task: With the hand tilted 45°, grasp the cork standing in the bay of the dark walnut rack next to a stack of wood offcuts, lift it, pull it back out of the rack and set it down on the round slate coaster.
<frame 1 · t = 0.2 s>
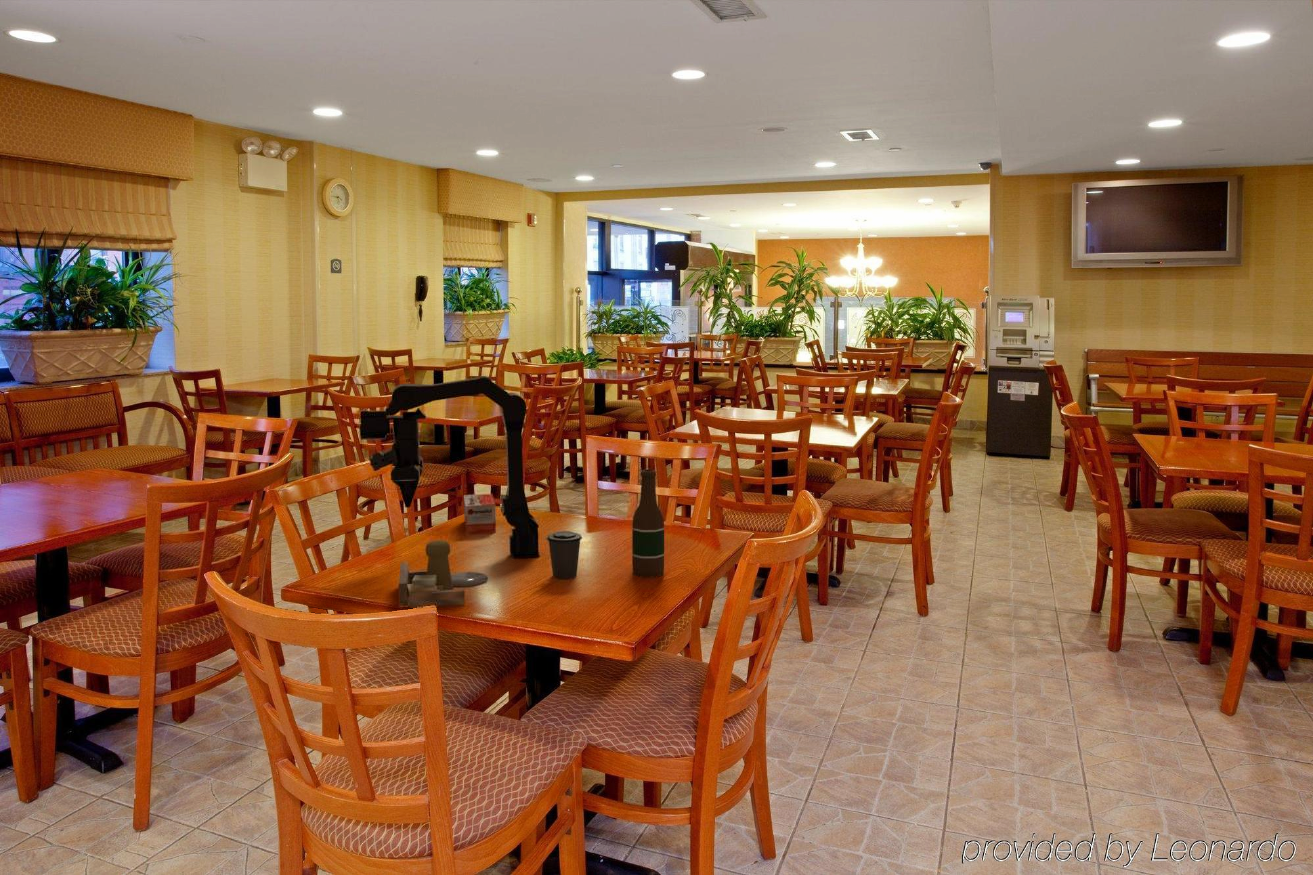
hand: (409, 503, 227), 14 cm above the table, tool pointing down, fingers open, 9 cm apart
coffee cup: (564, 576, 218), on the table
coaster: (465, 580, 214), on the table
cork: (439, 592, 206), on the table
beer bottle: (648, 573, 221), on the table
medicine box: (480, 528, 264), on the table
rack: (434, 593, 205), on the table
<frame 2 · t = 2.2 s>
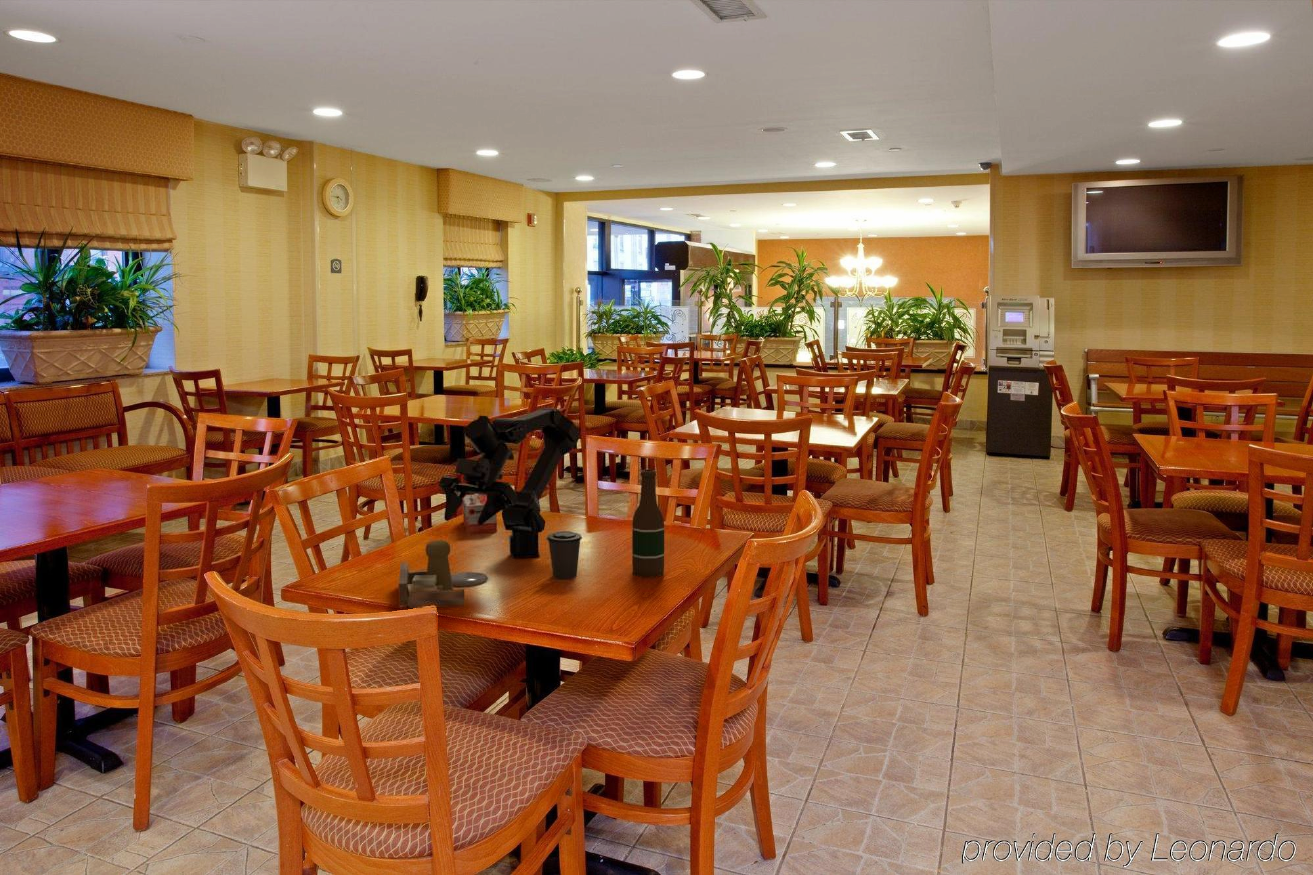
hand: (462, 522, 212), 13 cm above the table, tool tilted 45°, fingers open, 9 cm apart
nothing on the table moved.
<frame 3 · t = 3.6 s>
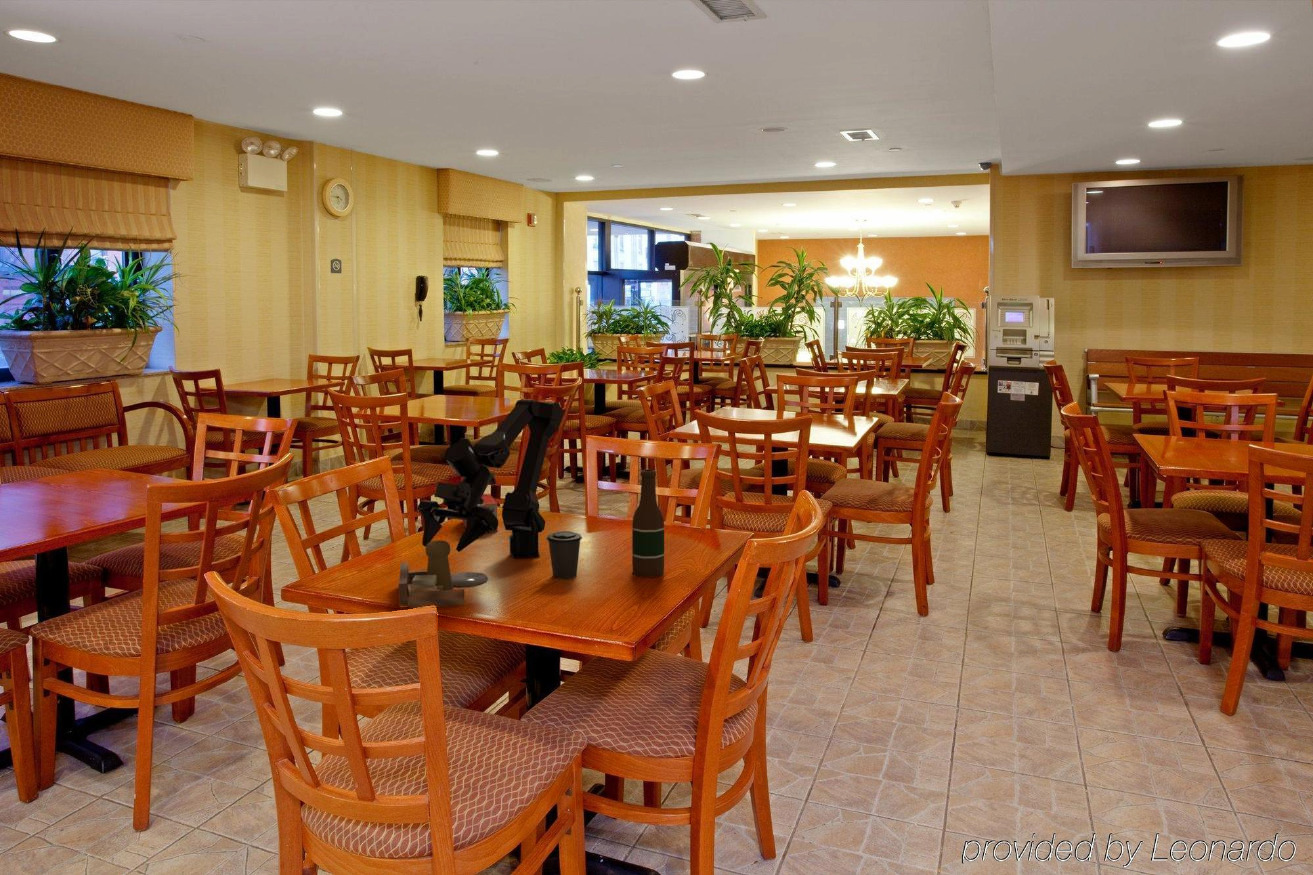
hand: (440, 548, 206), 9 cm above the table, tool tilted 45°, fingers open, 9 cm apart
nothing on the table moved.
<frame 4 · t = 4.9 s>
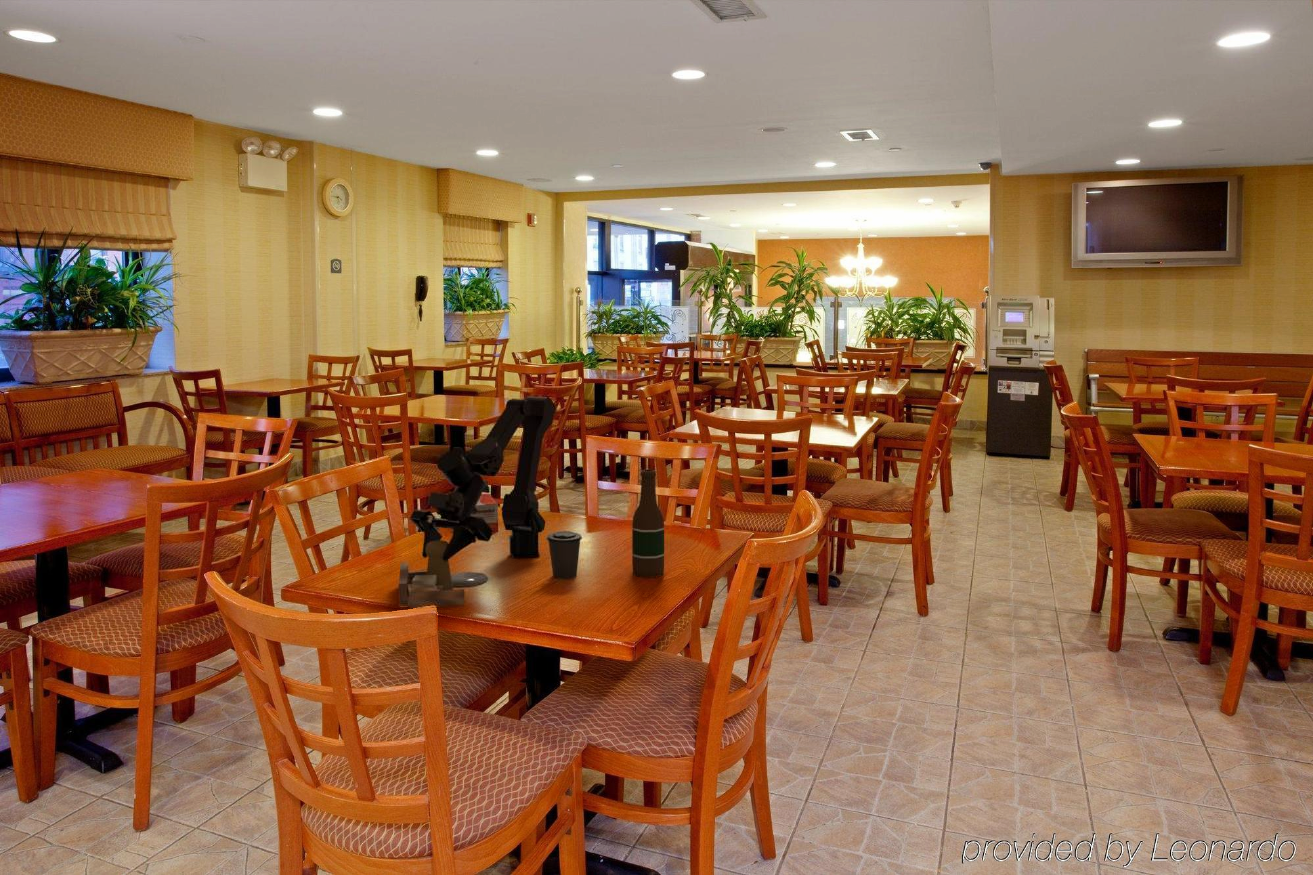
hand: (433, 558, 204), 8 cm above the table, tool tilted 45°, fingers closed on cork, 5 cm apart
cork: (439, 591, 206), on the table, touching gripper
everything else where it was.
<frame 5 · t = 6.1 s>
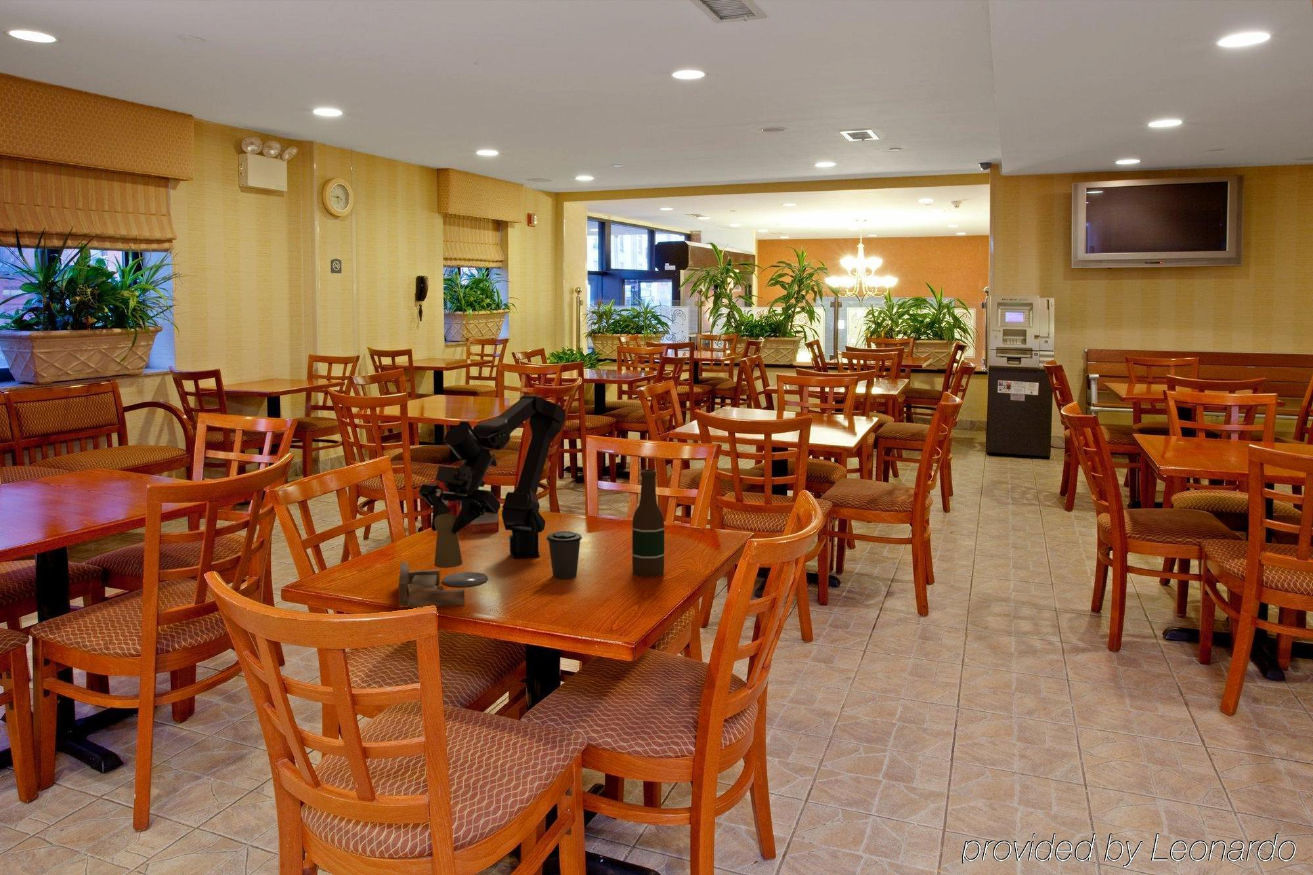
hand: (442, 531, 206), 13 cm above the table, tool tilted 45°, fingers closed on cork, 5 cm apart
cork: (448, 564, 209), point 5 cm above the table, touching gripper
everything else where it was.
when the fingers open (9 cm above the table, at t = 7.7 s): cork stays where it is, resting on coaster.
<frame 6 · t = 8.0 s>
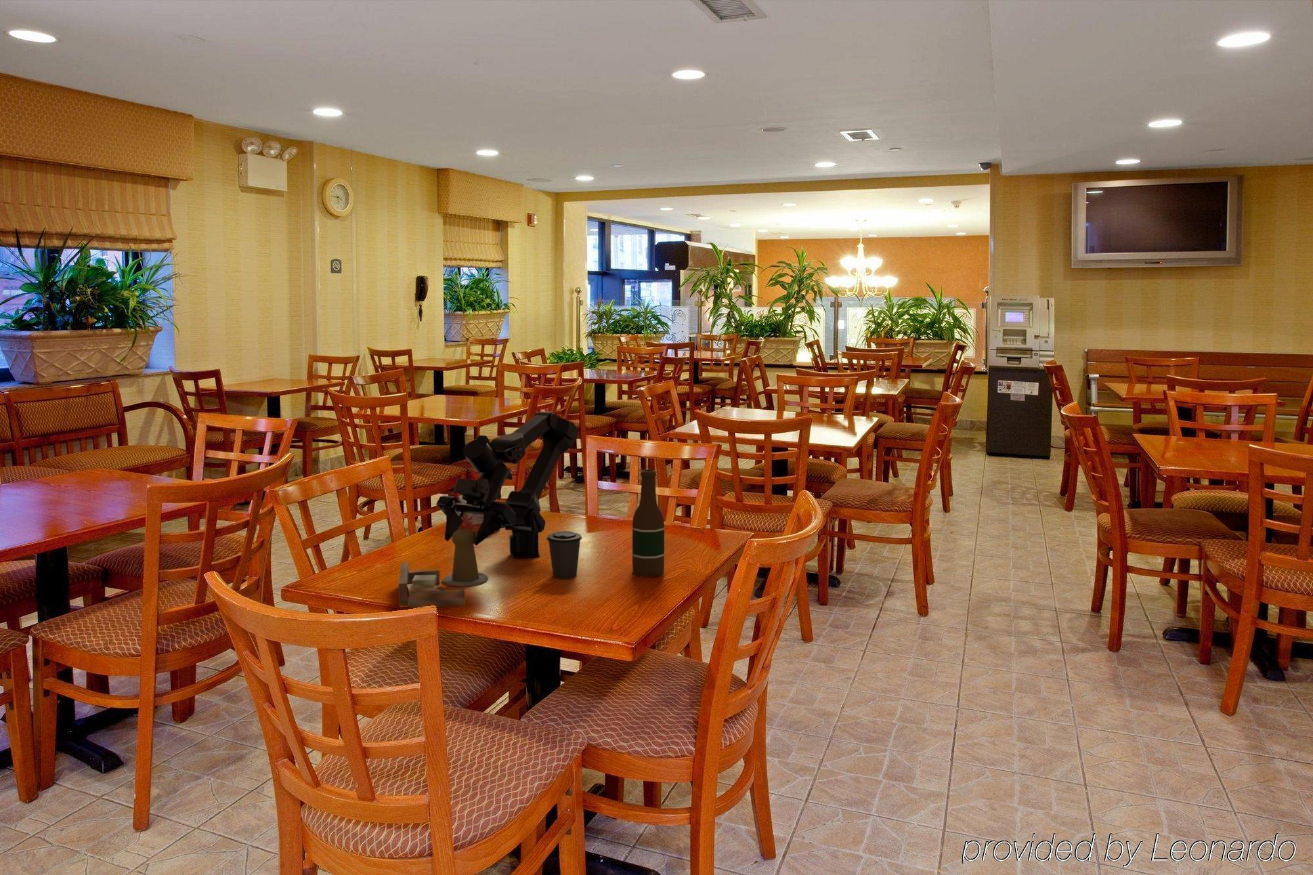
hand: (460, 542, 212), 9 cm above the table, tool tilted 45°, fingers open, 8 cm apart
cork: (465, 578, 214), resting on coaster
everything else where it was.
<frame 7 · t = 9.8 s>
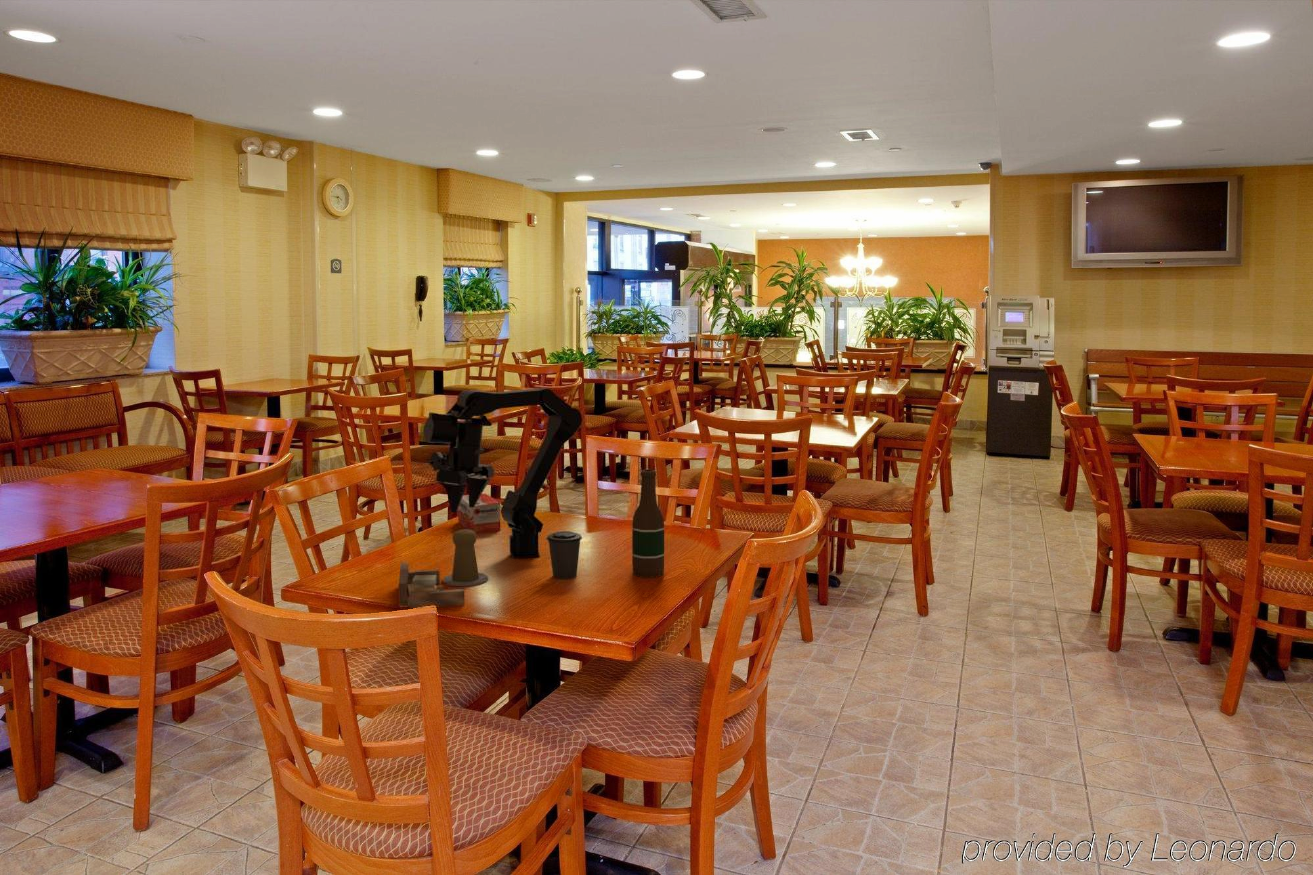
hand: (462, 509, 225), 13 cm above the table, tool pointing down, fingers open, 9 cm apart
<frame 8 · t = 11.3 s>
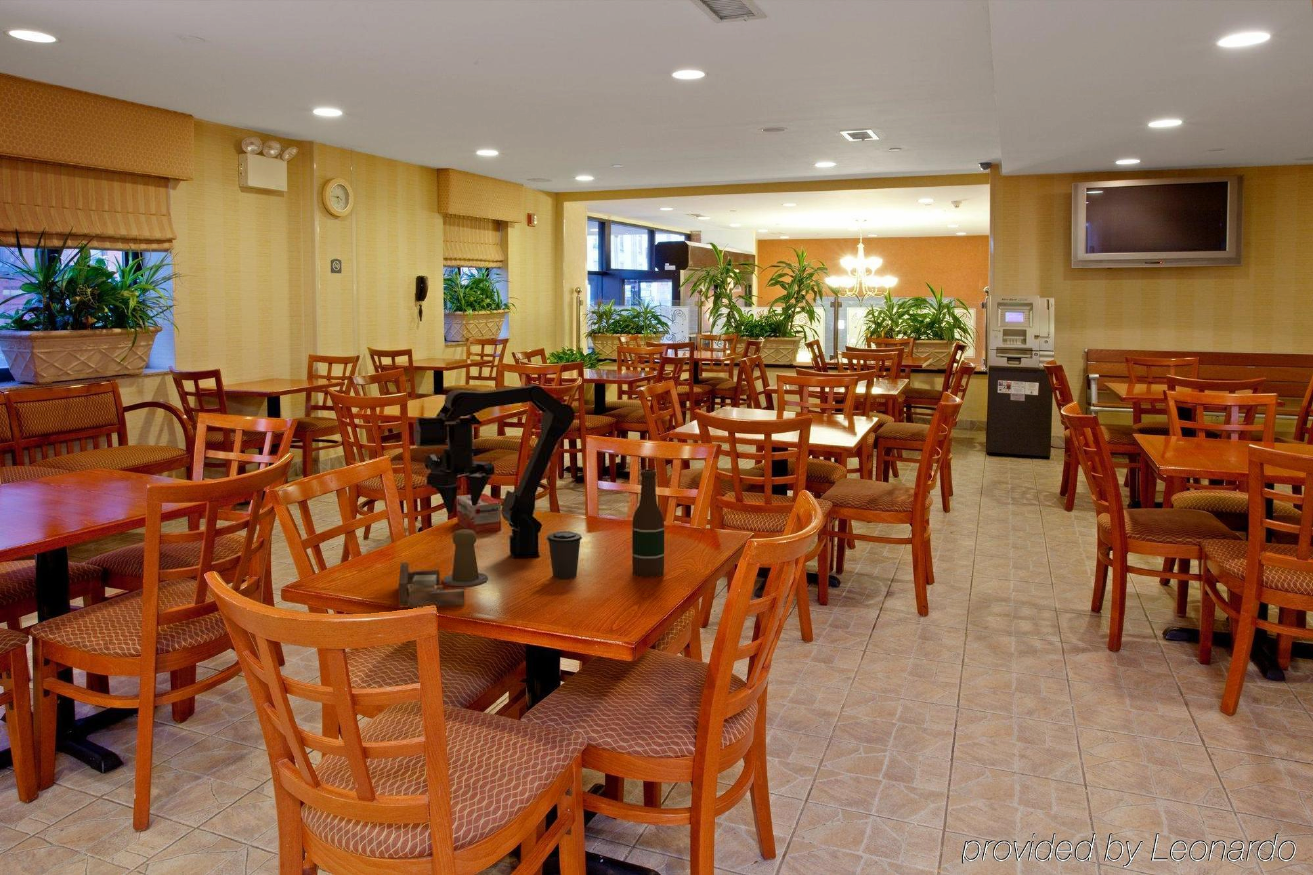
hand: (462, 509, 227), 13 cm above the table, tool pointing down, fingers open, 9 cm apart
at the end: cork inside the target area on the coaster (0.1 cm from its centre), point 0.2 cm above the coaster's base; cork tilted 0°; the gripper is holding nothing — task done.
